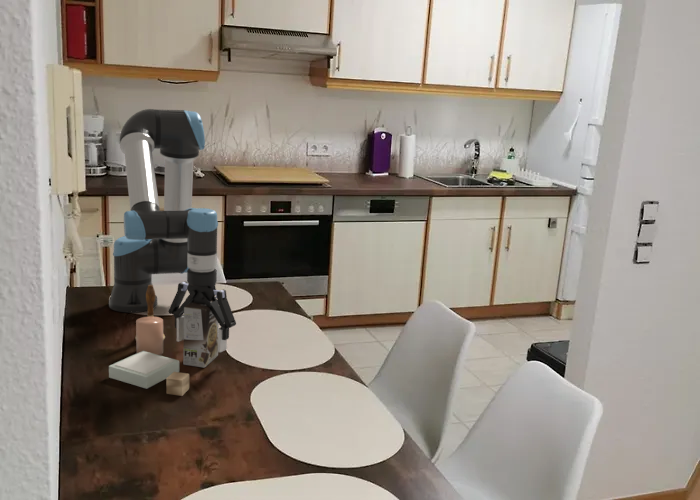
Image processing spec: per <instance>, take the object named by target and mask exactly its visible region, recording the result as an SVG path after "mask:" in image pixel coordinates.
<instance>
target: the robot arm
mask: <svg viewBox="0 0 700 500" xmlns="http://www.w3.org/2000/svg"><path fill="white" fill-rule="evenodd" d="M205 145H206V138H205V131H204V124H203V120H202V117H201V115H200V114H199V113H198V112H197V111H192V110H191V111H190V110H186V109H154V108H145V109H142V110H140V111H137V112H135V113H134V114H133V115H131V116H130V117H129V118H128V119H127V120H126V122H125V123H124V125H123V126H122V128H121V130H120V134H119V147H120V148H119V149H120V151H121V152H122V153H123V155H124V160H125V171H126V180H127V181H126V182H127V191H128V198H129V200H128V201H129V209H130V210H129V211H128V210H127V211H125V212H124V213H123V231H124V235H122V236H121V237H118V238H117V239H115V241H114V243H113V252H112V255H113V270H114V271H113V282H114V283H113V287H112V289H111V293H110V296H109V299H108V308H109V309H110V310H113V311H116V312H120V313H140V312H141V313H142V312H146V311H147V312H148V305H147V302H146V291H147V288H148V285H153V281H152V280H153V279H152V278H153V277H152V275H164V274H166V275H167V274H168V275H169V274H171V275H172V274H184V273H186V280H187V281H186V280H185V281H182V282H179V283H178V284H177V291H176V293H175V295H174V298H173V299H172V301H171V304H170V306H169V309H168V311H167V312H168V314H169V315H173V318H174V329H176V342H182V341H184V307H185V306H186V305H188V304H189V303H191V302H192V301H195V303H201V304H206V306H207V307H210V310H211V312H212V313H213V315H214V316H215V318H216V320H217V321H218V326H220V327H218V353H222V352H224V351H227V349H228V346H227V345H228V344H227V343H228V342H227V340H228V339H229V338H230V328H232V327H235V326H236V325H237V322H236V319H235V316H234V314H233V312H232V309H231V305H230V303H229V301H228V298H227V290H226V289H225V288H224V289H221V290H219V289H217V288H216V284H217V278H218V277H217V273H218V271H217V267H218V251H217V250H218V226H219V222H218V214H217V211H216V210H214V209H211V208H205V207H203V208H202V207H197V208H196V207H192V205H193V204H192V203H193V202H192V201H193V182H194V181H193V180H194V178H193V176H194V161H195V160H196V159H197V158H198V157H199V155H200V153H199V152H200V151H203V150H204V149H205ZM155 149H159V153H160V156H161V157H162V158H163V159H164V189H163V190H164V192H163V193H164V195H163V196H164V197H163V199H164V203H163V210H160V202H159V201H160V200H159V195H158V188H157V179H156V173H155V166H154V158H153V151H154V150H155ZM187 291H188V293H189V294H188V296H187V297H186V298H185V295H186V294H187ZM184 298H185V299H184ZM183 300H184V301H183ZM211 300H212V302H211ZM182 302H183V303H182ZM218 304H219V305H218ZM157 306H158V296H157V295H156V294H155V302H154V305H153V309H155V308H156V307H157Z"/></svg>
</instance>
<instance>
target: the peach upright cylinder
mask: <svg viewBox="0 0 700 500" xmlns="http://www.w3.org/2000/svg"><path fill="white" fill-rule="evenodd" d="M135 323H136V324H135V325H136V326H135V327H136V329H135V331H136V335H135V337H136V339H135V341H136V343H135V344H136V345H135V346H136V354H137V353H139V352H141V351H146V352H149V353H153V354H157V355H160V356H161V355H162V354H164V340H163V334H164V319H163V318H161V317H159V316H154V317H147V316H143V317H140V318H137V319H136V321H135Z"/></svg>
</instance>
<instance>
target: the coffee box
mask: <svg viewBox="0 0 700 500" xmlns="http://www.w3.org/2000/svg"><path fill="white" fill-rule="evenodd" d="M211 302H212V300H211ZM218 305H219V304H218ZM183 316H184V340H183V361H182V362H183V363H182V364H183V366H191V367H197V368H206V367H207V366H208V365H209V364H210V363H212V362H213V361H214V360H215V359H216V358H217V357H218V356H219V352H218V328H219V323H218V321H217V320H216V318H215V316H214V315H213V313H212V312H211V310H210V307H207V306H206V304H201V303H195V301H192V302H191V303H189V304H188V305H186V306H185V307H184V314H183Z"/></svg>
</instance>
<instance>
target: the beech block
mask: <svg viewBox="0 0 700 500" xmlns="http://www.w3.org/2000/svg"><path fill="white" fill-rule="evenodd" d="M165 381H166V385H165V386H166V387H165V388H166V395H174V396H181V397H182V396H184V395H185V394H186V392H188V391H189V390H190V373H186V372H180V371H179V372H173V373H172V374H171V375H170V376H168V377H167V378H166V379H165Z"/></svg>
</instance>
